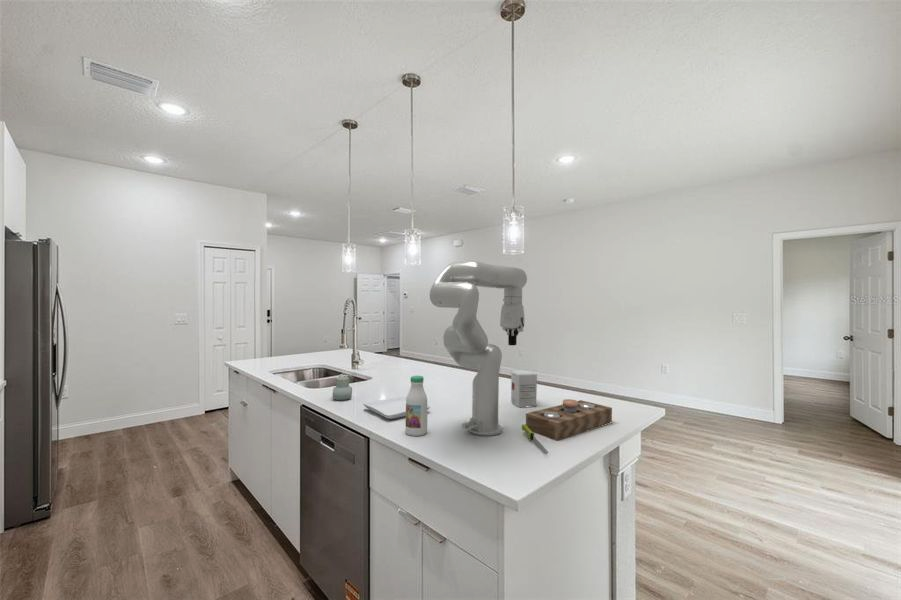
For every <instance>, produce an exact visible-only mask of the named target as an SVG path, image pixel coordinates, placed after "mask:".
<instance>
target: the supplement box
mask: <svg viewBox="0 0 901 600" xmlns="http://www.w3.org/2000/svg"><path fill="white" fill-rule="evenodd" d="M510 377H511V380H510V381H511V383H510V384H511V385H510V386H511V387H510V389H511V390H510V391H511V393H510V394H511V396H510V402H512V403H513V404H512V403H511V404H512V405H514V404H515V405H516V407H517V406H518V407H525V408H527V407H526V406H536V407H537V388H538V386H537V385H538V383H537V382H538V381H537V380H538V379H537V378H538V375H537V373H535V372H533V371H530V370H511V376H510ZM515 405H514V406H515ZM518 407H517V408H518Z"/></svg>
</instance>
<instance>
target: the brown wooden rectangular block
mask: <svg viewBox="0 0 901 600" xmlns="http://www.w3.org/2000/svg"><path fill="white" fill-rule="evenodd" d="M577 401H578V407H577V413H574V414H571V413H568V412H564V405H563V404H559V405H555V406H551V407H546V408H542V409H538V410H534V411H530V412H525V424H526V425H527V426H528V428H529V429H530V430H531V431H532V432H533V433H534V434H537V435H540V436H543V437H545V438H548V439H551V440H553V441H558V442H559V441H561V440H564V439H568V438H571V437H573V435H574V436H576V434H577V435H579V434H578V433H580V434H582V432H583V433H585V431H586V432H588V431H587V430H589V431H592V430H594V428H595V429H597V428H596V427H598V428H600V427H599V426H601V427H603V426H602V425H604V426H606V425H605V424H607V423H610V422H612V423H613V421H612V420H613V407H611V406H606V405H602V404H598V403H593V402H590V401H586V400H583V399H580V400H577ZM580 403H590V404H594V405H595V408H592V409H587V408H583V407H580ZM545 412H556V413H559V414H560V417H559V418H555V419H552V418H549V417H545V416H544V413H545ZM610 424H611V423H610ZM607 425H608V424H607ZM591 429H592V430H591Z"/></svg>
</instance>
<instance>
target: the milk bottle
mask: <svg viewBox="0 0 901 600" xmlns="http://www.w3.org/2000/svg"><path fill="white" fill-rule="evenodd" d="M424 379H425V377H424V376H422V375H412V376H411V377H410V387H409V391H408V393H407V396H406V398H407V399H406V416H405V434H407V435H408V436H413V437H417V436H418V437H419V436H420V437H421V436H424V435H426V434H427V432H428V410H427V405H428V396H427V394H426V391H425V388H424Z"/></svg>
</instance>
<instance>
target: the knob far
mask: <svg viewBox="0 0 901 600" xmlns="http://www.w3.org/2000/svg"><path fill="white" fill-rule="evenodd" d="M580 407H583V408H587V409H592V408H595V405H594V404H590V403H580Z"/></svg>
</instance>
